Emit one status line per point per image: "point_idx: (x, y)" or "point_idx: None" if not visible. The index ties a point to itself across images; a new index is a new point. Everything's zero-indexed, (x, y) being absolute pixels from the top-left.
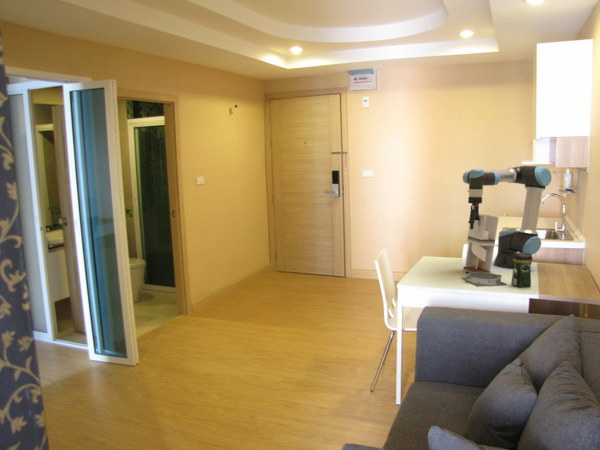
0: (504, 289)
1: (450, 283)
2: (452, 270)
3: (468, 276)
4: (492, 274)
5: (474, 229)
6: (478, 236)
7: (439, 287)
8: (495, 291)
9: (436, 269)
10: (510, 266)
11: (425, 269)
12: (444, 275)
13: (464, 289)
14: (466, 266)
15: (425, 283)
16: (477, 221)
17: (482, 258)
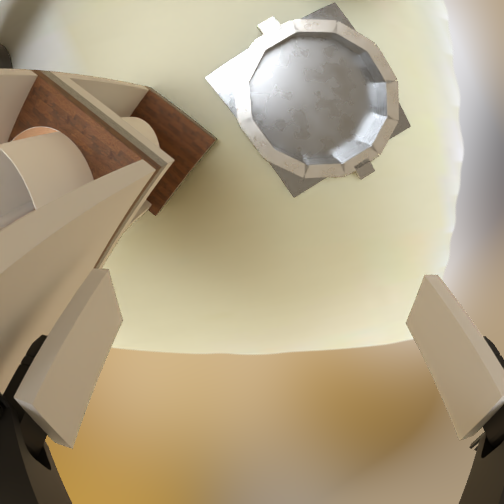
0: (408, 24)
1: (393, 225)
2: (162, 249)
3: (369, 168)
4: (260, 58)
5: (108, 319)
6: (115, 221)
7: (446, 250)
8: (447, 64)
9: (182, 303)
10: (6, 58)
11: (206, 332)
12: (271, 264)
13: (455, 172)
14: (149, 203)
15: (408, 295)
16: (43, 394)
17: (149, 130)
